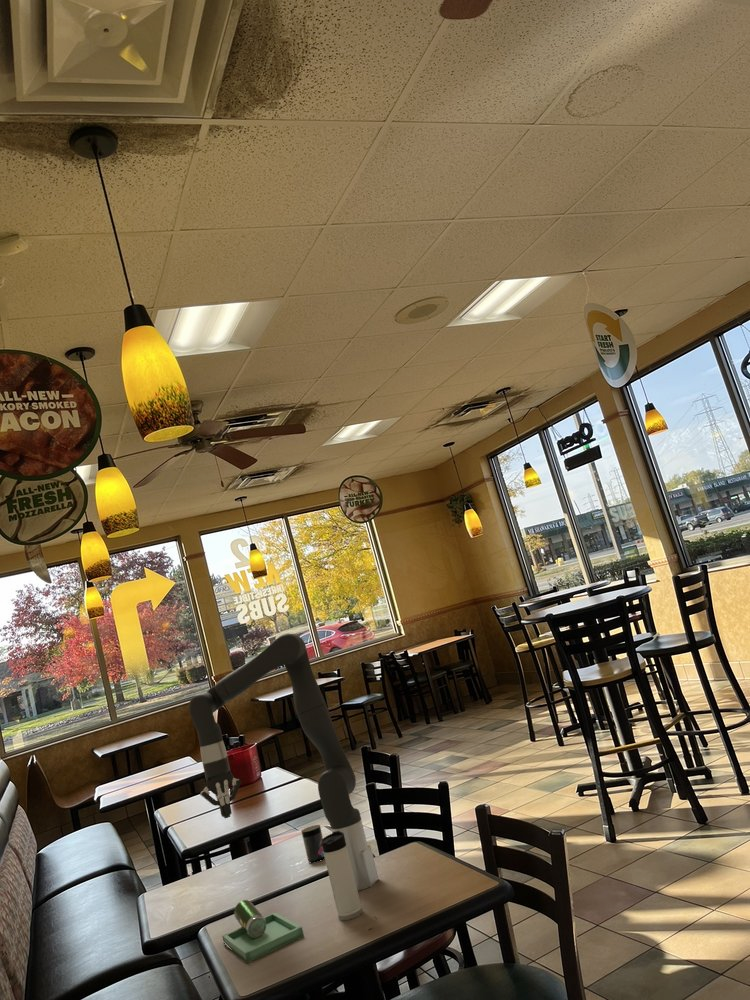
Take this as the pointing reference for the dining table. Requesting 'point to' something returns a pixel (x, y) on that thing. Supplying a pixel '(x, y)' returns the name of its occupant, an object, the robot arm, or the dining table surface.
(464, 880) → the dining table surface
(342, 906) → the travel mug
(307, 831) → the supplement container
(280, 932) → the tray
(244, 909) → the beer can
